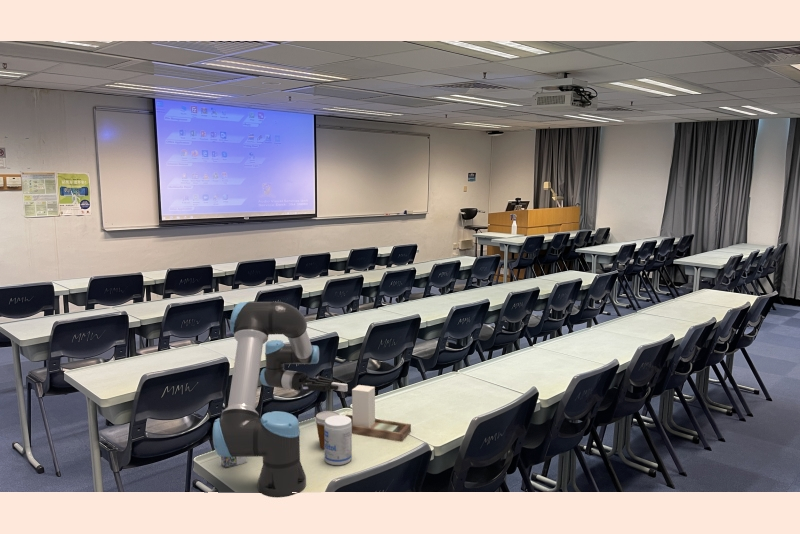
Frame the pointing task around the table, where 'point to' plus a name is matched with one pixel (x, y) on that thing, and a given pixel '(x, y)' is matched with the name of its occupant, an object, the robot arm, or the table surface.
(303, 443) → the table surface
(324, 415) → the disposable coffee cup
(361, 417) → the block
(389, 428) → the trap track
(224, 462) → the ink box
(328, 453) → the supplement tub
